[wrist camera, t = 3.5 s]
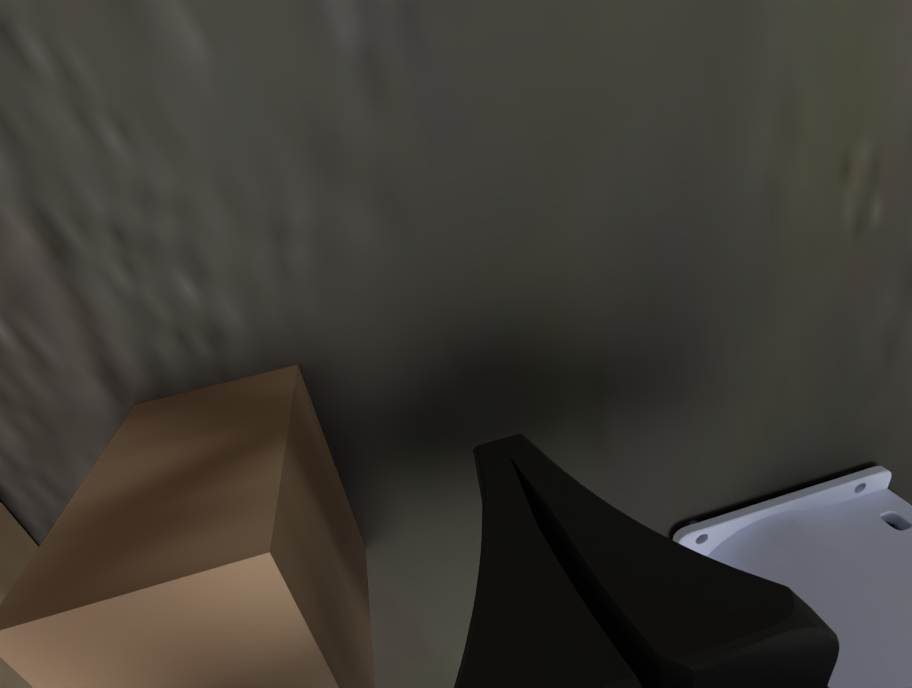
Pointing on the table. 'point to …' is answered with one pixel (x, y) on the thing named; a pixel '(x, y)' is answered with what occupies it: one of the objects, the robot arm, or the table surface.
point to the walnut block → (201, 555)
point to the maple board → (12, 577)
